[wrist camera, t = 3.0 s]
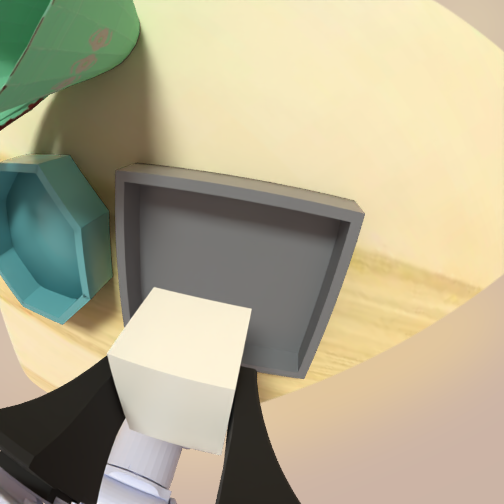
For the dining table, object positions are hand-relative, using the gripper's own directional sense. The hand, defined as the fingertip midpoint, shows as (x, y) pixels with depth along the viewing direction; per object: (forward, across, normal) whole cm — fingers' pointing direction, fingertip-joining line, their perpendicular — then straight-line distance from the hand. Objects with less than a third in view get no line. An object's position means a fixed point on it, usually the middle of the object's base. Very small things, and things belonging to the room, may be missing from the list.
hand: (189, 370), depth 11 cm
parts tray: (+9, 0, 0) cm, 9 cm away
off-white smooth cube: (+2, 0, 0) cm, 2 cm away
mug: (+9, +12, -13) cm, 20 cm away
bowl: (+9, +15, 0) cm, 17 cm away
